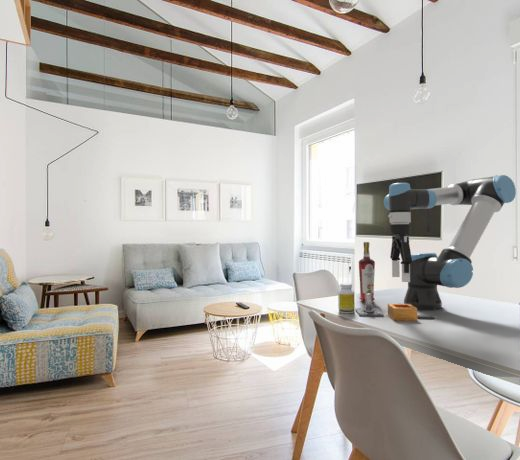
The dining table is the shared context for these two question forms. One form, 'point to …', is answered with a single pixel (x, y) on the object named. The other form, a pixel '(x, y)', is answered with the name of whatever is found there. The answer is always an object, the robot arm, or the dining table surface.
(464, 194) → the robot arm
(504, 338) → the dining table surface
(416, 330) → the dining table surface
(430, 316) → the grey rectangular block
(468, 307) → the dining table surface
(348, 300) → the pill bottle
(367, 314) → the keeper
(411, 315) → the square wooden frame
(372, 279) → the liquor
